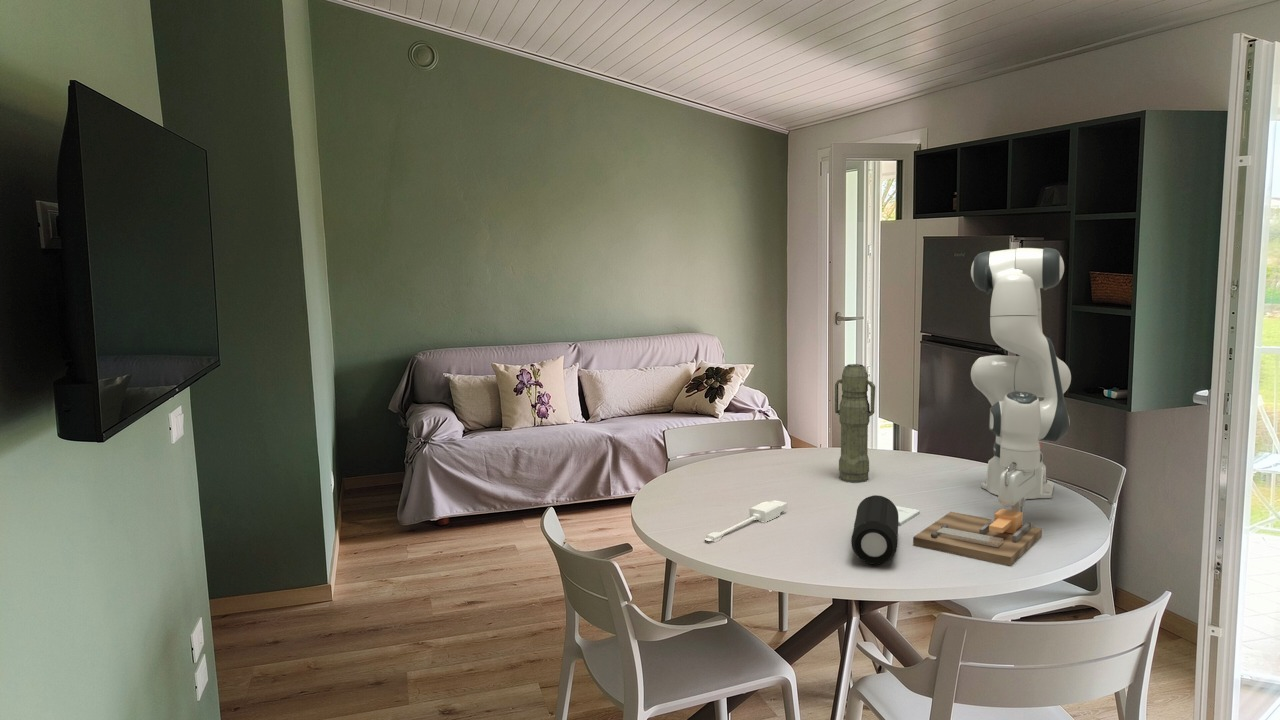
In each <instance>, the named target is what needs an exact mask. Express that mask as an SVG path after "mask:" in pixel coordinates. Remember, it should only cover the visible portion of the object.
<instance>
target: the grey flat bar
mask: <svg viewBox="0 0 1280 720" xmlns="http://www.w3.org/2000/svg"><path fill="white" fill-rule="evenodd" d="M937 532H938V536H940V537H945V538H950V539H956V540H961V541H966V542H971V543H977V544H982V545H987V546H992V547H999V546H1000V545H1001V544H1003V543H1004V538H998V537H993V536H988V535H982V534H977V533H971V532H966V531H960V530H955V529H949V528H944V527H943V528H941V529H940V530H938V531H937Z"/></svg>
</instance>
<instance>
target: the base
mask: <svg viewBox="0 0 1280 720" xmlns="http://www.w3.org/2000/svg"><path fill="white" fill-rule="evenodd" d="M993 522H994V517H993V518H989V517H988V518H987V517H982V516H977V515H970V514H965V513H964V514H963V513H959V512H955V511H949V512H948V513H946V514H945V515H943V516H942V517H941V518H939V519H938V520H936V521H934V522H933V523H931V525H929V526H927V527H926V528H925V529H923V530H921V531H920V532H919V533H917V534H915V535H914V536H913V537H912V545H913V546H915V547H920V548H924V549H929V550H935V551H938V552H942V553H949V554H952V555H953V554H954V555H958V556H962V557H967V558H971V559H976V560H981V561H985V562H990V563H994V564H999V565H1003V566H1008V567H1011V566H1013V565H1014V564H1015V563H1016V562H1017V561H1018V559H1019V558H1021V557H1022V556H1023V555H1024V554H1025V553H1026V552H1028V550H1029V549H1030V548H1031V547H1032V546H1033V545H1035V543H1037V542H1038V541H1039V540H1040V539H1041V538H1042V536H1043V535H1042V534H1043V533H1042V532H1043V528H1042V527H1036V526H1032V522H1031V521H1027V522H1026V523H1025V524H1022V528H1020V529H1019V530H1018V531H1017V532H1016V533H1015V534H1012V533H1007V532H1003V533H999V532H994V531H989V525H990V524H992V523H993ZM943 527H944V528H949V529H955V530H960V531H966V532H971V533H977V534H982V535H988V536H993V537H998V538H1004V543H1003V544H1001V545H1000V546H999V547H992V546H987V545H982V544H977V543H971V542H966V541H961V540H956V539H950V538H945V537H940V536H938V532H937V531H938V530H940V529H941V528H943Z"/></svg>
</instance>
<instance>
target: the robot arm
mask: <svg viewBox="0 0 1280 720" xmlns="http://www.w3.org/2000/svg"><path fill="white" fill-rule="evenodd" d="M970 268H971V269H970V277H971V279H972V281H973V285H974V286H975V288H977V289H978V291H983V292H985V294H986V295H989V294H990V293H991V291H992V294H991V299H990V300H991V301H990V309H989V310H990V313H989V314H990V315H989V316H990V317H989V324H990V328H989V329H990V335H991V337H992V339H993V341H994V342H995V344H996V345H998V346H999V347H1000V348H1002V349H1004V350H1005V351H1007V352H1009V353H1012V354H1016V355H1000V354H993V355H985V356H980V357H979V358H977V359H976V360H975V361H974V363H973V364H972V365H971V370H970V379H971V382H972V384H973V386H974V387H975V388H976V389H977V390H978V391H979V392H981V394H983V396H985V397H986V399H987V401H988V402H989V404H990V405H991V407H990V408H989V411H988V414H989V415H988V416H989V417H988V430H989V431H990V432H991V433H992V434H993V435H995V441H994V443H993V455H994V456H993V457H991V458H990V459H988V462H987V471H986V480H985V482H982V483H981V484H980V488H982V489H984V490H987V492H988V493H991V494H992V495H995V496H998V497H997V499H998V503H999V504H1001V505H1005V506H1011V511H1017V512H1023V513H1024V506H1025V503H1026V500H1034V499H1052V496H1053V492H1054V488H1055V487H1054V486H1055V483H1054V482H1053V481H1050V480H1047V478H1046V476H1047V474H1046V473H1047V466H1046V465H1045V464H1044V462H1043V459H1044V454H1043V453H1042V452H1041V451H1042V449H1041V448H1042V442H1040V441H1047V442H1057V441H1059V440H1061V439H1062V438H1063V437H1064V436H1066V435H1067V434H1068V433H1069V430H1070V423H1071V422H1070V421H1071V420H1070V416H1069V412H1068V408H1067V406H1066V405H1067V404H1066V400H1065V397H1064V396H1065V395H1064V394H1065V393H1066V391H1068V389H1069V388H1070V385H1071V383H1072V382H1071V381H1072V374H1071V370H1070V368H1069V366H1068V364H1066V363H1065V362H1064V361H1063V360H1061V359H1060V358H1059V357H1058V356H1057V354H1056V350H1055V346H1054V344H1053V342H1052V340H1051V338H1050V337H1047V336H1046V335H1045V334H1044V333H1043V332H1044V331H1043V323H1042V297H1041V296H1042V295H1041V289H1043V291H1047V290H1048V289H1052V288H1055V287H1056V286H1057V285H1059V284H1060V282H1061V280H1062V278H1063V275H1064V274H1065V273H1064V272H1065V263H1064V260H1063V257H1062V255H1061V252H1060V251H1058V250H1057V249H1056V248H1051V247H1043V248H1036V247H1016V248H1010V249H1001V250H994V251H990V250H988V251H983V252H979V253H978V254H977V255H976V256H974V259H973V261H972V263H971V267H970ZM1039 398H1043V399H1042V400H1040V399H1039ZM1039 440H1040V441H1039Z"/></svg>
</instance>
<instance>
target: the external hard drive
mask: <svg viewBox="0 0 1280 720" xmlns="http://www.w3.org/2000/svg"><path fill="white" fill-rule="evenodd" d="M895 506H896V508H897V511H898V517H899V518H898V527H901V526H904V524H906V523H907V522H909V521H910V520H912V519H913V518H915V517H917V516H918V515H920V510H919V509H914V508H910V507H909V508H908V507H904V506H898V505H895Z"/></svg>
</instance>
